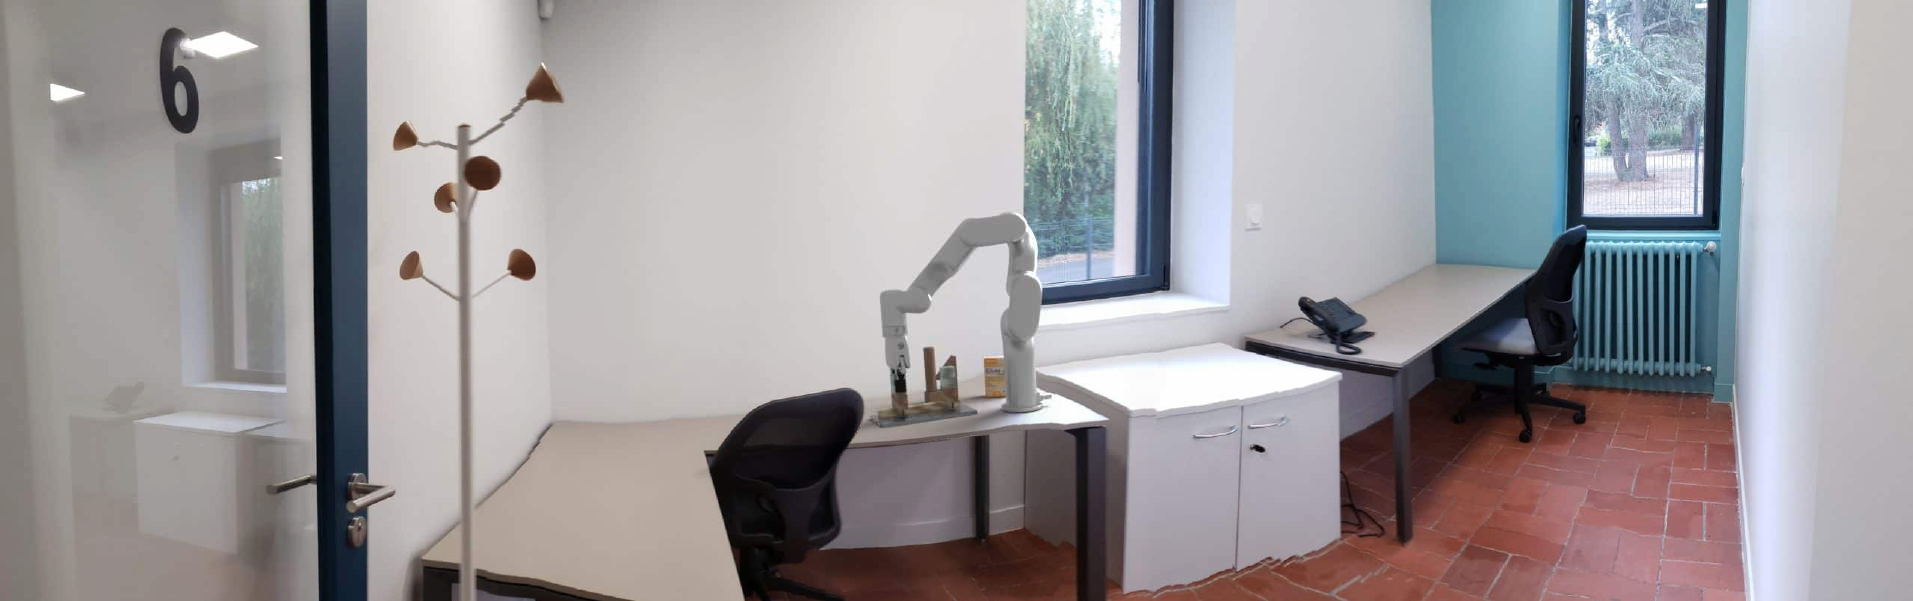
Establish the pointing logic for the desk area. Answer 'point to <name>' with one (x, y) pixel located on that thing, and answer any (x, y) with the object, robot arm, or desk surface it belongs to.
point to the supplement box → (994, 376)
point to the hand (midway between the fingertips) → (898, 390)
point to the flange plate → (924, 416)
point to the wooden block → (930, 375)
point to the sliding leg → (898, 396)
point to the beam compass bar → (947, 401)
